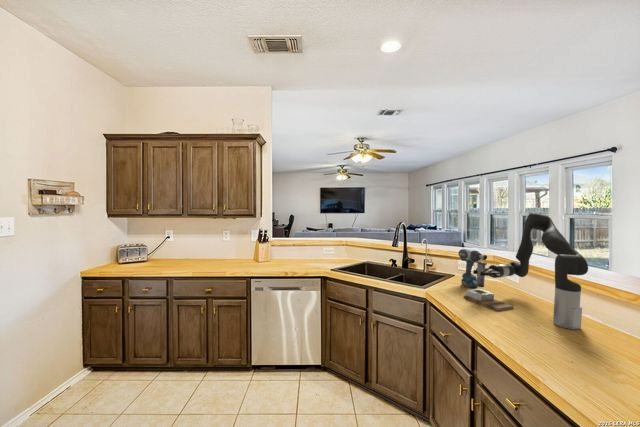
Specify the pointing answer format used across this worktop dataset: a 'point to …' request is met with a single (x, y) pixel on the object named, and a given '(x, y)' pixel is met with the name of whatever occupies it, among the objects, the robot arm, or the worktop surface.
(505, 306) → the stand
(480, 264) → the chuck key
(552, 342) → the worktop surface
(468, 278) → the impact wrench
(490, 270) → the robot arm
